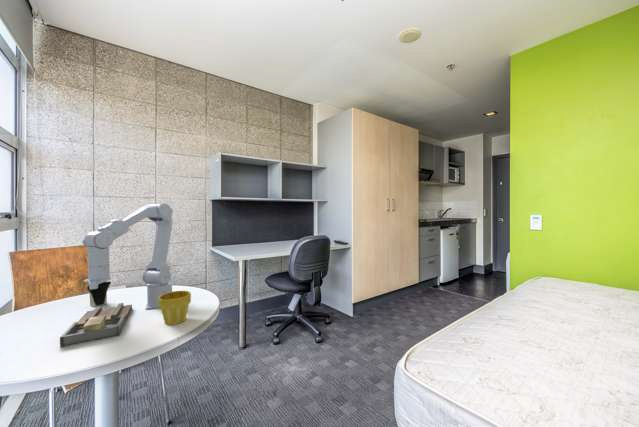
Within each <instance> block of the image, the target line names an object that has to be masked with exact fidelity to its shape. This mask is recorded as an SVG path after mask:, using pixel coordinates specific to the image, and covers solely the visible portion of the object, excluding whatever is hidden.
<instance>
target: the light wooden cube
mask: <svg viewBox="0 0 639 427" xmlns="http://www.w3.org/2000/svg"><path fill="white" fill-rule="evenodd" d="M100 319H103V329H104V328H105V327H106V315H102V316H96V317H90V319H89V320H88V321H94V320H100ZM88 321H87V322H88Z"/></svg>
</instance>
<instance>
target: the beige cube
mask: <svg viewBox="0 0 639 427" xmlns="http://www.w3.org/2000/svg"><path fill="white" fill-rule="evenodd" d="M98 329H103V319H100V320H94V321H88V322H87V323H86V324H85V325H84V326H83V332H87V331H93V330H98Z"/></svg>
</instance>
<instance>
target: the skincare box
mask: <svg viewBox="0 0 639 427" xmlns="http://www.w3.org/2000/svg"><path fill="white" fill-rule="evenodd" d="M105 282H107V281H105ZM107 295H108V294H107V293H106V298H105V302H104V304H103V305H102V306H104V305H107V304H108V300H107V298H108V297H107ZM89 305H90V306H92V307H95V308H96V307H99V306H101V305H97V306H96V305H95V303H94V300H93V297H92V295H91V293H90V292H89Z"/></svg>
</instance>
